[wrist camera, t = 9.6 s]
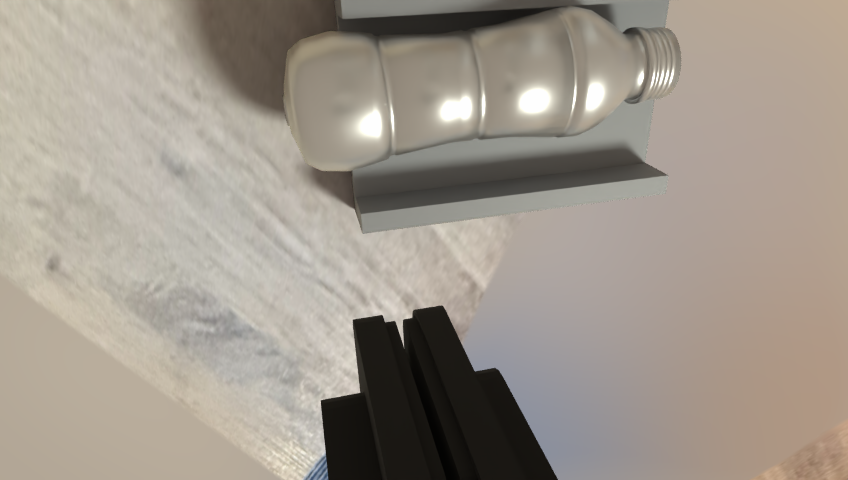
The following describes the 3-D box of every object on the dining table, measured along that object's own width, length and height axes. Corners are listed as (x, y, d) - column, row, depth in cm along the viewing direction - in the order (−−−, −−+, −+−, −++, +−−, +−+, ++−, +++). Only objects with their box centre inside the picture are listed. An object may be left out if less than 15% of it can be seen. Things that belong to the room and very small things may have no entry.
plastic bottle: (297, 195, 26) (692, 138, 29) (267, 39, 23) (707, -6, 26) (297, 160, 31) (625, 116, 34) (274, 32, 29) (632, -4, 32)
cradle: (333, -12, 29) (340, -9, 26) (662, -28, 32) (702, -27, 29) (355, 209, 34) (362, 233, 31) (634, 175, 38) (665, 193, 35)
